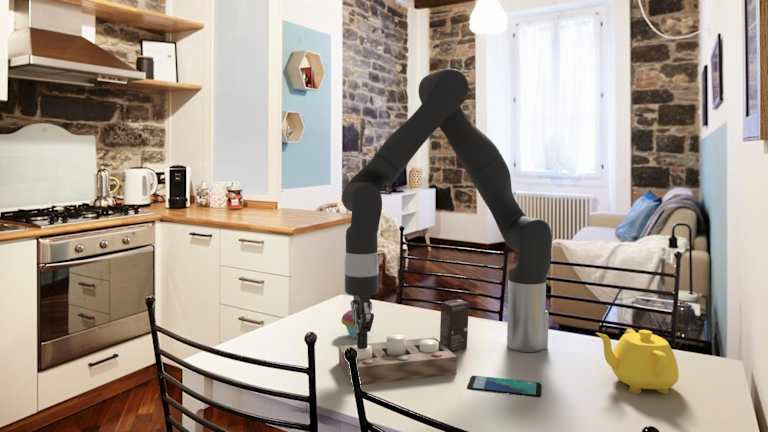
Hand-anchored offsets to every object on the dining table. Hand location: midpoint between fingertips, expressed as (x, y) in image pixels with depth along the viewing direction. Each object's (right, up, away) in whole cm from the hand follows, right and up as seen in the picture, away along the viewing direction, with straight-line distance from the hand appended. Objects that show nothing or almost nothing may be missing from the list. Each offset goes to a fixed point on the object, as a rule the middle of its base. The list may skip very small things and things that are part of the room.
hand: (361, 347), depth 126 cm
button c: (0, -4, 0) cm, 4 cm away
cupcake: (-2, -3, +26) cm, 27 cm away
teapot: (+58, -7, -7) cm, 59 cm away
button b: (+8, -3, +2) cm, 9 cm away
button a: (+15, -4, +5) cm, 17 cm away
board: (+8, -5, +3) cm, 10 cm away
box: (+23, -4, +16) cm, 28 cm away
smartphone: (+31, -7, -8) cm, 32 cm away
